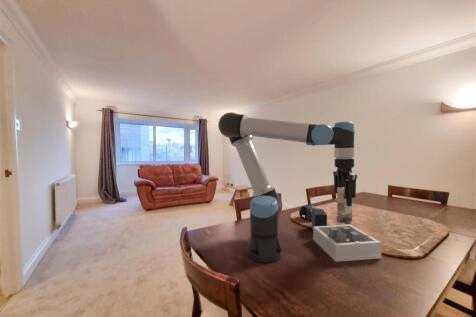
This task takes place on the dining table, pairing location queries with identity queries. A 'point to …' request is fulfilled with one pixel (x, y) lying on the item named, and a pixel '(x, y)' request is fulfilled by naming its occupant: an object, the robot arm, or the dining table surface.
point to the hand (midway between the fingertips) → (344, 211)
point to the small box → (319, 218)
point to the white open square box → (347, 245)
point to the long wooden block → (342, 207)
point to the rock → (306, 211)
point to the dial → (343, 235)
